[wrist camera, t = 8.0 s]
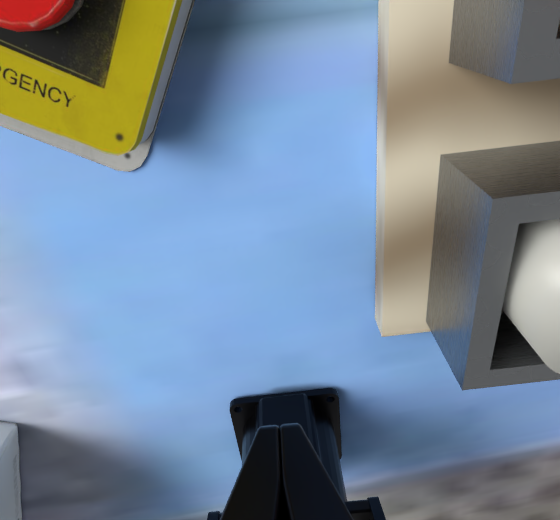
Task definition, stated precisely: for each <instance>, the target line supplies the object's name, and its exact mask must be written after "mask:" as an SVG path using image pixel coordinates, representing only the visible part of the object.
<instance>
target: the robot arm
mask: <svg viewBox="0 0 560 520" xmlns="http://www.w3.org/2000/svg"><path fill="white" fill-rule="evenodd" d="M330 396H332V397H330ZM230 414H231V418H232V422H233V426H234V430H235V435H236V439H237V443H238V447H239V451H240V455H241V459H242V468H241V470H240V473H239V475H238V477H237V480H236V482H235V485H234V487H233V489H232V492H231V494H230V497H229V499H228V501H227V504H226V506H225V508H224V511H223V513H220V512H219V511H216V512H209V513H208V518H207V520H386V519H385V516H384V513H383V510H382V507H381V504H380V501H379V498H378V497H370V498H367V500H358V501H347V498H346V492H345V487H344V482H343V476H342V471H341V465H340V459H341V456H342V454H341V433H340V413H339V397H338V393H337V391H336V390H335V389H333V388H327V389H318V390H309V391H301V392H292V393H283V394H274V395H265V396H256V397H247V398H238V399H234V400H232V401H231V402H230Z"/></svg>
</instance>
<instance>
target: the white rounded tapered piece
mask: <svg viewBox="0 0 560 520" xmlns="http://www.w3.org/2000/svg"><path fill="white" fill-rule="evenodd" d="M502 310H503V311H504V313H505V314H506V315H507V316H508V318H509V319H510V320H511V321H512V323H513V324H514V325H515V326H516V328H517V329H518V330H519V332H520V333H521V334H522V335H523V337H524V338H525V339H526V340H527V342H528V343H529V344H530V345H531V347H532V348H533V349H534V350H535V352H536V353H537V354H538V356H539V357H540V358H541V359H542V361H543V362H544V363H545V364H546V365H547V366H548V367H549V368H550V369H551V370H553V371H555V372H556V373H558V374H560V219H555V220H547V221H538V222H529V223H521V224H519V226H518V231H517V236H516V241H515V246H514V251H513V256H512V261H511V266H510V271H509V276H508V281H507V286H506V291H505V296H504V301H503V306H502Z"/></svg>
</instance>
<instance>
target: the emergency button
mask: <svg viewBox="0 0 560 520" xmlns="http://www.w3.org/2000/svg"><path fill="white" fill-rule="evenodd" d="M194 2H195V0H0V126H2V127H5V128H7V129H10V130H13V131H15V132H18V133H20V134H23V135H26V136H28V137H31V138H34V139H36V140H39V141H41V142H44V143H47V144H49V145H52V146H55V147H57V148H60V149H63V150H65V151H68V152H70V153H73V154H76V155H78V156H81V157H84V158H86V159H89V160H92V161H94V162H97V163H99V164H102V165H105V166H107V167H110V168H113V169H115V170H118V171H128V172H130V171H132V170H134V169H136V168H138V167H140V166H141V165H142V163H143V162H144V160H145V159H146V157H147V155H148V153H149V149H150V146H151V143H152V140H153V136H154V133H155V130H156V126H157V123H158V120H159V117H160V113H161V110H162V107H163V103H164V100H165V97H166V94H167V90H168V87H169V84H170V80H171V77H172V74H173V71H174V67H175V64H176V61H177V57H178V54H179V51H180V48H181V44H182V41H183V38H184V34H185V31H186V28H187V25H188V21H189V18H190V15H191V11H192V8H193V5H194Z"/></svg>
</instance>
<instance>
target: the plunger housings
mask: <svg viewBox="0 0 560 520" xmlns="http://www.w3.org/2000/svg"><path fill="white" fill-rule="evenodd" d="M449 63H450V64H453V65H456V66H459V67H462V68H465V69H468V70H471V71H474V72H477V73H480V74H483V75H486V76H489V77H492V78H495V79H498V80H501V81H504V82H507V83H510V84H516V83H524V82H533V81H541V80H550V79H558V78H560V0H454V7H453V18H452V29H451V41H450V52H449ZM555 219H560V141H552V142H544V143H535V144H527V145H518V146H510V147H501V148H492V149H484V150H475V151H467V152H458V153H450V154H441V155H440V166H439V177H438V188H437V200H436V211H435V222H434V234H433V245H432V256H431V268H430V279H429V290H428V302H427V313H426V323H427V325H428V326H429V328H430V330H431V332H432V334H433V336H434V338H435V340H436V342H437V343H438V345H439V347H440V349H441V351H442V353H443V355H444V357H445V359H446V361H447V362H448V364H449V366H450V368H451V370H452V372H453V374H454V376H455V378H456V379H457V381H458V383H459V385H460V387H461V389H462V390H468V389H477V388H486V387H495V386H504V385H513V384H522V383H531V382H540V381H549V380H558V379H560V374H558V373H556V372H555V371H553V370H551V369H550V368H549V367H548V366H547V365H546V364H545V363H544V362H543V361H542V359H541V358H540V357H539V356H538V354H537V353H536V352H535V350H534V349H533V348H532V347H531V345H530V344H529V343H528V342H527V340H526V339H525V338H524V337H523V335H522V334H521V333H520V332H519V330H518V329H517V328H516V326H515V325H514V324H513V323H512V321H511V320H510V319H509V318H508V316H507V315H506V314H505V313H504V311H503V310H502V306H503V301H504V296H505V291H506V286H507V281H508V276H509V271H510V266H511V261H512V256H513V251H514V246H515V241H516V236H517V231H518V226H519V224H521V223H529V222H538V221H547V220H555Z"/></svg>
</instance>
